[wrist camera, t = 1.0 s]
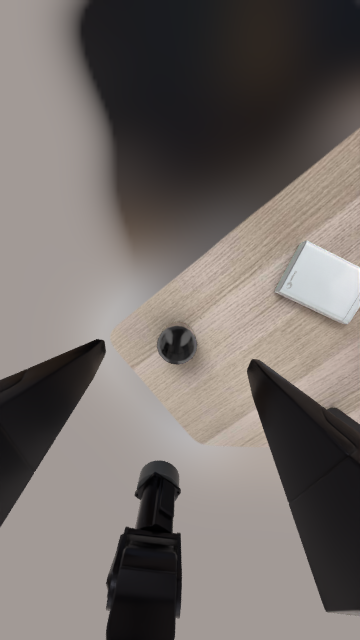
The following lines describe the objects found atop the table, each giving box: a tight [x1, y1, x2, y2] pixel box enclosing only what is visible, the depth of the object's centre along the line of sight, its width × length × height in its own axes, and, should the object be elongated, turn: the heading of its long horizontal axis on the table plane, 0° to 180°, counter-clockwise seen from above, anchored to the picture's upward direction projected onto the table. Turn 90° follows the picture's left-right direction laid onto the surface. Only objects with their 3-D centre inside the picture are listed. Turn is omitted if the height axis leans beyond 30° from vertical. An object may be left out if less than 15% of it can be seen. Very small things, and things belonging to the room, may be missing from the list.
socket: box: [157, 322, 197, 364], centre depth 24 cm, size 6×6×4 cm
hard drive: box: [274, 241, 360, 324], centre depth 24 cm, size 2×8×12 cm
